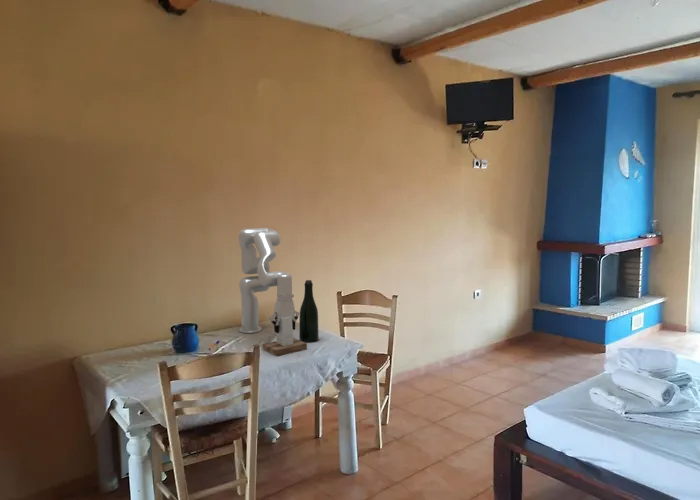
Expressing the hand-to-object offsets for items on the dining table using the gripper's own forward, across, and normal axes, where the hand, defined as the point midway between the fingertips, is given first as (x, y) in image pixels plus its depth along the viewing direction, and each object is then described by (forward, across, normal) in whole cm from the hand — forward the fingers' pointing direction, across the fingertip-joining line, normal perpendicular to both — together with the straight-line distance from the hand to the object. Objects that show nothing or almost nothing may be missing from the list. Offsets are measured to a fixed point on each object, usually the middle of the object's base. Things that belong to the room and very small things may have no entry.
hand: (284, 330), depth 264 cm
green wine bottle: (+10, -19, -6) cm, 22 cm away
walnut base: (+10, 0, 0) cm, 10 cm away
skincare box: (+7, 0, 0) cm, 7 cm away
